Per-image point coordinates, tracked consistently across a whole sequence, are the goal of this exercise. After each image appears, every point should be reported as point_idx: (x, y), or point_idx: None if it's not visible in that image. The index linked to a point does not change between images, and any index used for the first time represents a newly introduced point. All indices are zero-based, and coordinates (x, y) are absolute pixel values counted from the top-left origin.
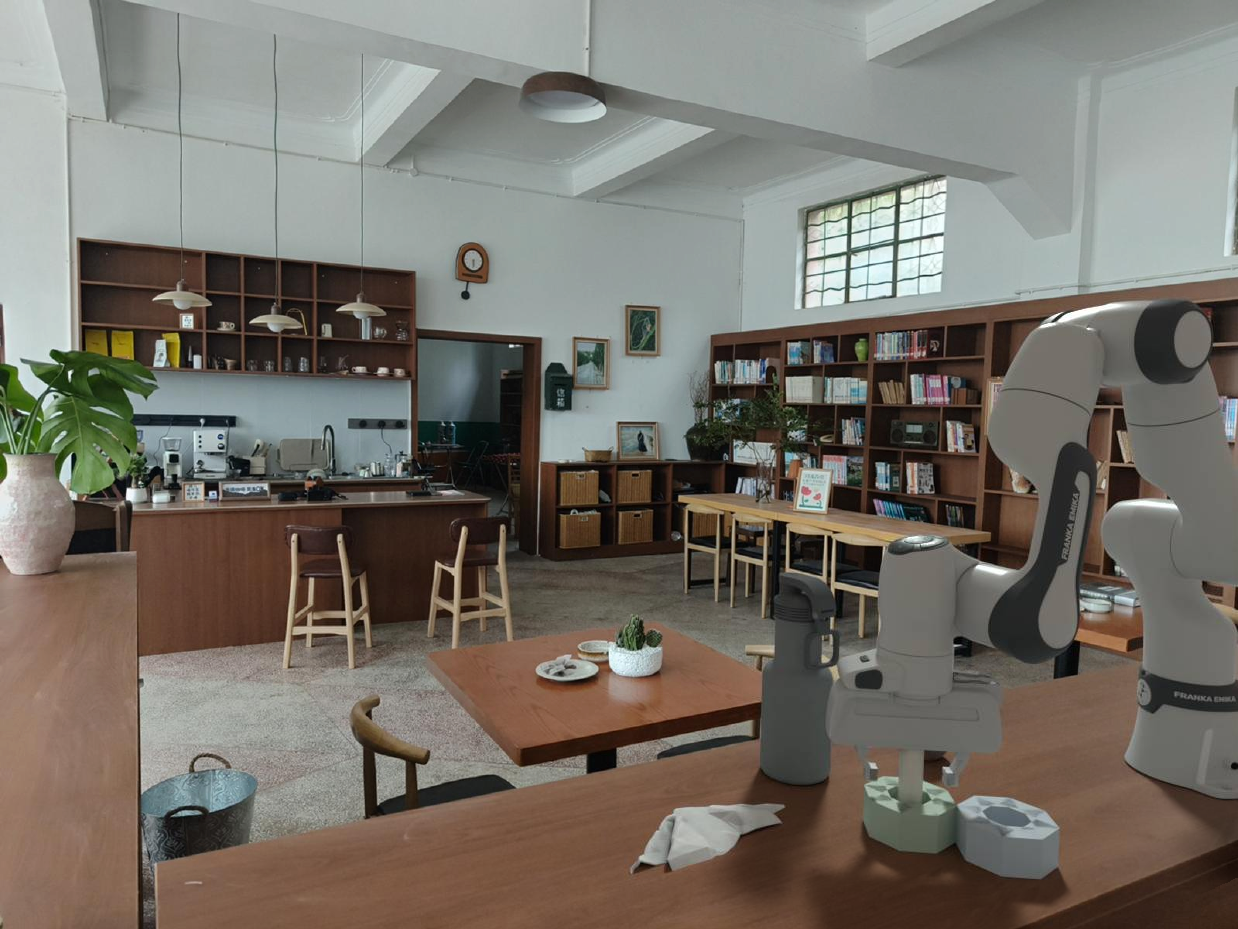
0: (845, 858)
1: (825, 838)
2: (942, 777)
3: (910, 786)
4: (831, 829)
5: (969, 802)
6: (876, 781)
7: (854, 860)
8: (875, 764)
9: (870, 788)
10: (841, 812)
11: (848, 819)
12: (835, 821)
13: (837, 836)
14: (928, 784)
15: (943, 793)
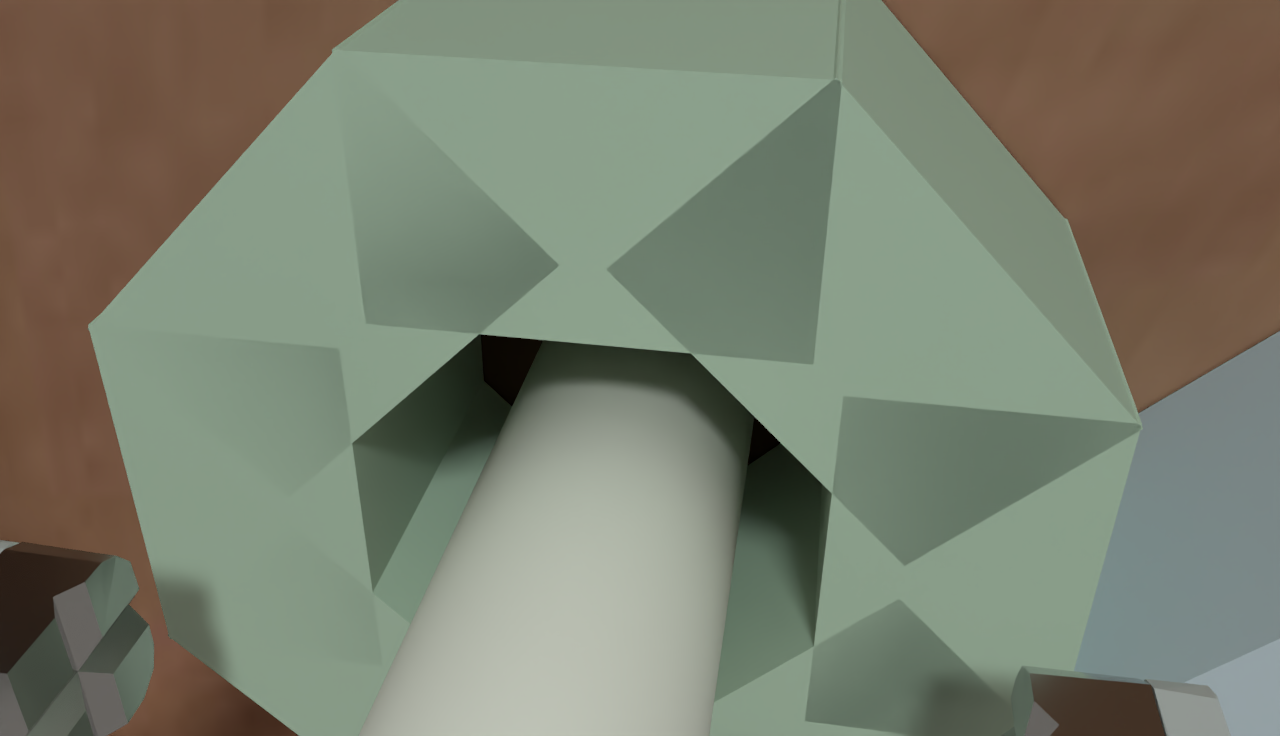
0: (164, 656)
1: (14, 447)
2: (1025, 711)
3: None
4: (37, 326)
5: (1256, 699)
6: (143, 667)
7: (218, 675)
8: (16, 715)
9: (163, 417)
10: (84, 17)
11: (155, 153)
12: (51, 196)
13: (92, 420)
14: (943, 279)
15: (1039, 509)
